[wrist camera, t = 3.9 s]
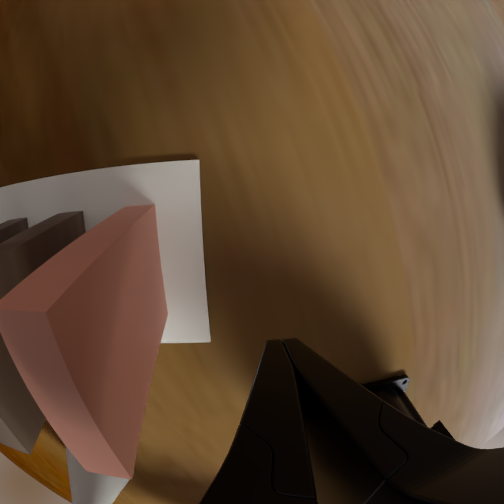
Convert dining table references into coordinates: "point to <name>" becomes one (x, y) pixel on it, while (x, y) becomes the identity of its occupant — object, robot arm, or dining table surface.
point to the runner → (135, 194)
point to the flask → (92, 484)
